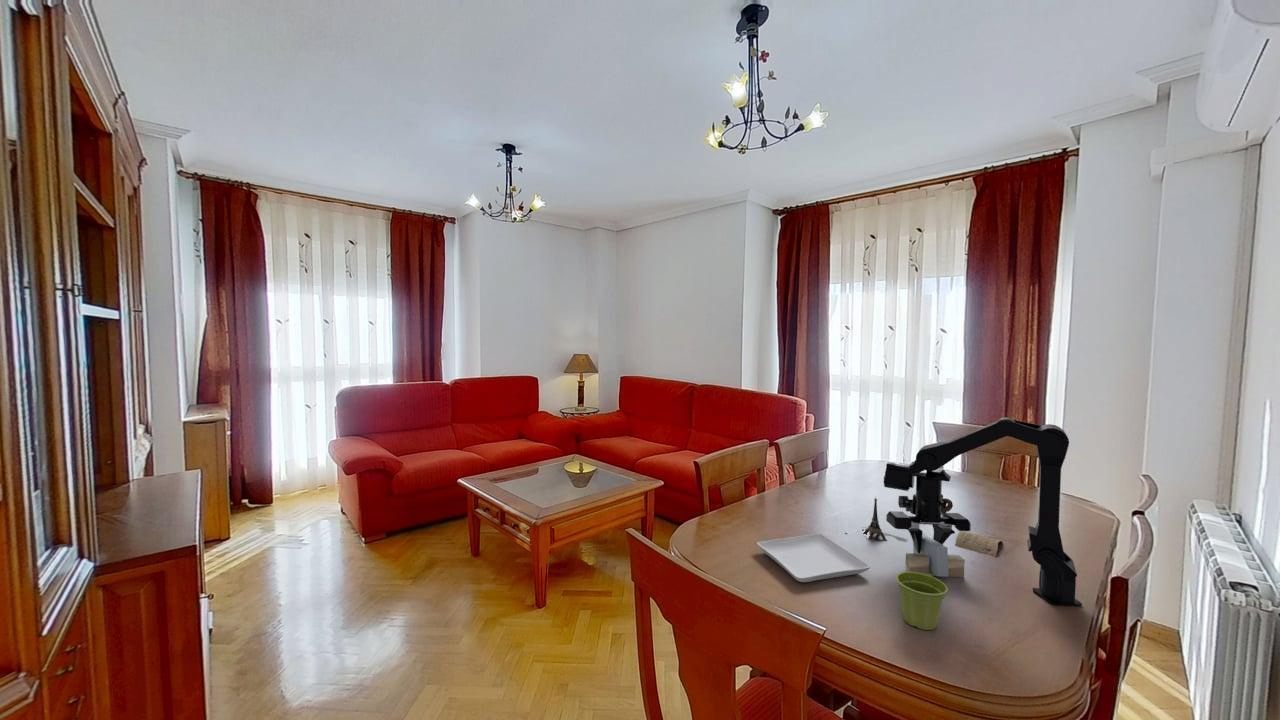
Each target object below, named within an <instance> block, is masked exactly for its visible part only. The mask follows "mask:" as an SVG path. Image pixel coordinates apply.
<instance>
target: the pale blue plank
mask: <svg viewBox="0 0 1280 720" xmlns="http://www.w3.org/2000/svg"><path fill="white" fill-rule="evenodd" d="M912 544H913V545H912V547H913V549H912V550H913V551H912V552H913V553H916V554H925V555H926V556H927V557H928V558H929V571H931V572H932V573H934V574H935V575H936V576H935V577H948V555H949V554H948V552H949V551H948V546H946V545H944V544H943V545H942V544H940V543H939V542H937V541H935V540H934V539H933V538H932V537H930V536H928V535H926V534H925V533H922V544H921V551H920V553H918V552H917V551H916V548H915V546H914V543H913V542H912ZM948 578H949V577H948Z"/></svg>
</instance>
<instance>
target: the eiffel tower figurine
mask: <svg viewBox="0 0 1280 720" xmlns="http://www.w3.org/2000/svg"><path fill="white" fill-rule="evenodd" d="M877 501H878V498H877V497H875V498H874V505H873V506H874V507H873V516H872V518H871V522H870V524H869V525H868V526H867V527H866V528H867V529H865V532H864V533H863V534H866V535H867V533H868V532H869V535H870V536H869V538H868V539H869V540H872V541H871V542H888V539H887V538H886V537H892V538H894V539H896V540H897V541H899V542H905V543H906V542H907V541H908V539H907V538H904V537H901V536H897V535H893V534H890V533H887V532H884V531H883V530H882V528H881V527H880V526H881V525H880V524H879V522H880V520H879V518H878V505H877V503H878V502H877ZM862 531H864V529H862ZM882 531H883V532H882ZM863 534H862V535H863ZM868 539H867V540H868ZM869 540H868V541H869Z"/></svg>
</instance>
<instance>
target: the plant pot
mask: <svg viewBox="0 0 1280 720" xmlns="http://www.w3.org/2000/svg"><path fill="white" fill-rule="evenodd" d="M895 580H896V582H897V583H898V588H899V592H900V599H901V600H900V601H901V606H902V608H901V609H902V618H903V620H904V621H905V623H907V624H908V625H910V626H913V627H916V628H918V629H919V630H923V631H934V630H935V629H936V627H937V626H938V623H939V622H938V621H939V615H940V612H941V606H942V602H943V600H944V599H945V595H946V594H947V593H948V590H949V589H948V586H947V584H945V583H944V582H943V581H942V580H940V579H938V578H936V577H935V576H929V575H926V574H923V573H918V572H907V571H901V572H900V573H897V575H895Z"/></svg>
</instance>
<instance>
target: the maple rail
mask: <svg viewBox="0 0 1280 720" xmlns="http://www.w3.org/2000/svg"><path fill="white" fill-rule="evenodd" d="M965 564H966V563H965V558H963V557H962V556H961V555H959V554H948V578H949V577H951V578H953V577H955V578H958V577H959V578H964V577H965ZM904 568H905V572H918V573H923V574H926V575H929V576H932V577H937V576H936V575H935V574H934V573H932V572H931V571H929V558H928V557H927V556H926V555H925V554H916V553H912V552H910V553H909V552H908V553H907V552H906V553H905V567H904Z"/></svg>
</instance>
